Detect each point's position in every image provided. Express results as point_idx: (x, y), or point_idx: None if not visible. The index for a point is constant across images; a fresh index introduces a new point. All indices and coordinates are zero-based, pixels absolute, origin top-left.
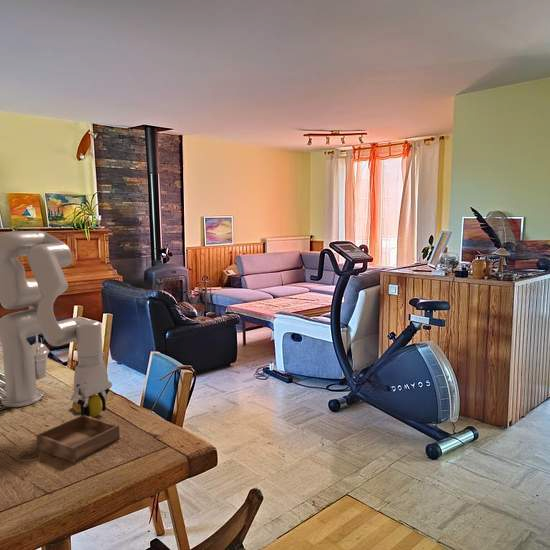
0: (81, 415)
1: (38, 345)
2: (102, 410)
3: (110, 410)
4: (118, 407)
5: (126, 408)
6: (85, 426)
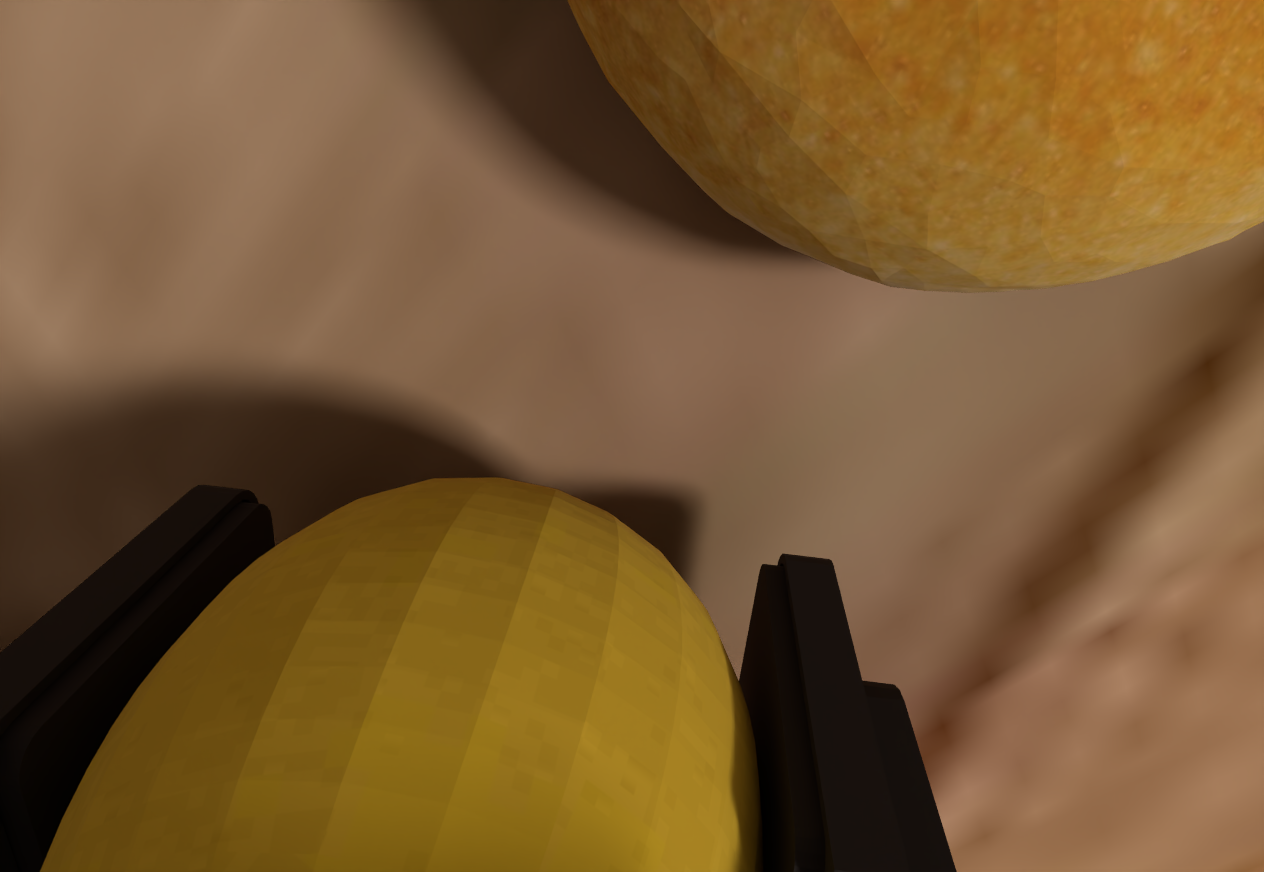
0: (192, 492)
1: None
2: None
3: (1023, 629)
4: (1248, 681)
5: (1215, 846)
6: None
